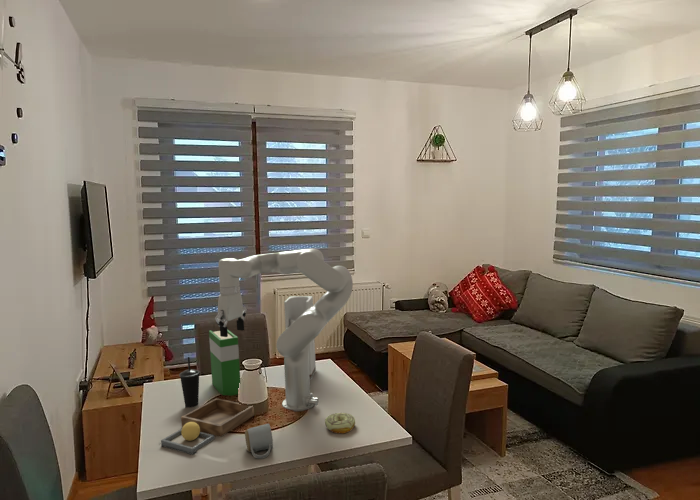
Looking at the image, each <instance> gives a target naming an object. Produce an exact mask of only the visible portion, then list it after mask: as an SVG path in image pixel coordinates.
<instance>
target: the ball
mask: <svg viewBox="0 0 700 500" xmlns="http://www.w3.org/2000/svg"><path fill="white" fill-rule="evenodd" d="M181 429H182V431H181V433H182V434H181V436H182V438H183V439H184V440H186V441H189V442H191V441H195V440H196V439H197V438H198V437H200V436H199V434H200V427H199V425H198V424H197V423H195V422H188V423H186V424H185V425H184V426H183V427H181Z"/></svg>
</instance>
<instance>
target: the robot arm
mask: <svg viewBox="0 0 700 500" xmlns="http://www.w3.org/2000/svg"><path fill="white" fill-rule="evenodd" d="M267 273H278V274H281V275H290V274H297V273H299V274H300V273H301V274H302V275H304V276H305V277H306V278H308V279H309V280H310V281H311V282H313V283H314V284H316V285H317V286H319V287H320V288H322V289H323V290H324V291H326V292H325V293H324V294H323V295H322V296H321V297H320V298H318V300H317V301H316V302H315V303H313V306H312V307H310V308H309V309H307V310H306V311H305V312H304V313H303V314H302V315H301V316H300V317H299V318H298V319H297V320H296V321H295V322H293V323H292V324H291V325H290V326H289V327H288V328H287V329H285V330H283V332H282V333H281V334H279V336H278V338H277V340H276V343H275V344H276V350H277V351H278V354H280V355H281V356H282V357H284V358H283V359H284V360H283V363H284V365H283V366H284V386H285V390H284V391H285V399H284V400H283V401H282V403H281V407H283V408H284V409H287V410H290V411H292V412H303V411H307V410H310V409H312V408H313V407H314V406H318V404H319V398H318V397H314V395H313V394H314V393H313V392H311V381H310V380H311V379H310V376H309V343H310V342H311V341H313V340H314V339H316V338H317V337H318V336H319V335H320V334H321V332H322V331H323V329H325V327H326V325H327V324H328V323H329V322H330V321H331V320H332V319H333V318H334V317H335V316H336V315H337V314H338V312H340V310H342V308H343V307H345V305H346V304H347V302H348V301H349V300H350V297H351V295H352V291H353V285H354V283H353V277H352V274H351V272H350V270H349V269H348V268H347V267H346V266H343V265H335V266H331V264H329V263H327V262H326V261H325V258H324V254H323V252H322V251H321V250H320V249H318V248H304V249H295V250H289V251H288V250H287V251H279V252H272V253H263V254H256V255H250V256H247V257H244V258H241V259H238V258H234V257H229V258H228V257H227V258H226V257H225V258H221V259H219V260H218V278H219V279H218V281H219V295H218V302H217V315H216V316H215V317H214V320H215V323H216V324H217V326H218V327H219V331H220V336H221V337H228V331H227V329H228V326H227V325H228V322H230V321H233V320H235V319H236V330H237V331H242V332H243V331H245V320H246V318H245V317H246V315H247V314H246V313H247V307H246V306H244V305H243V297H242V293H241V285H240V279H250V278H252V277H253V276H256V275H260V274H267Z"/></svg>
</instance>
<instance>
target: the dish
mask: <svg viewBox="0 0 700 500" xmlns="http://www.w3.org/2000/svg"><path fill="white" fill-rule="evenodd" d="M181 431H182V428H180V429H178V430H177V431H175V432H174V433H171V434H170V435H168V436H166V437H164V438H163V439H161V440H160V442H161V443H160V446H161V447H163V448H167V449H171V450H174V451H178V452H180V453H181V452H182V453H184V454H189V455H192V456H193V455H195V454H197V453H198V451H197V450H199V449H201V448H202V447H204V446H206V445H208V444H209V443H210V442H212V441H213V440H215V435H212V434H208V433H204V432H200V434H199V436H198V437H200V438H204V439H203V440H202V441H200V442H198V443H197V444H195V445H194V446H190V445H185V444H182V443H179V442H178V443H177V442H174V441H171V440H173V439H175V438H176V437H178V436H180V435H182V433H181Z"/></svg>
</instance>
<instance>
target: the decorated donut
mask: <svg viewBox="0 0 700 500" xmlns="http://www.w3.org/2000/svg"><path fill="white" fill-rule="evenodd" d="M324 423H325V426H326V428H327V429H328V430H329V431H330V432H332V433H333V434H342V435H343V434H346V433H348V432H351V431H352V430H353V428H354V427H355V424H356V418H355V417H354V416H353V415H352V414H350V413H347V412H339V413H338V412H337V413H336V412H335V413H332V414H329V415H328V416H327V417H326V418H325V419H324Z"/></svg>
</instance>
